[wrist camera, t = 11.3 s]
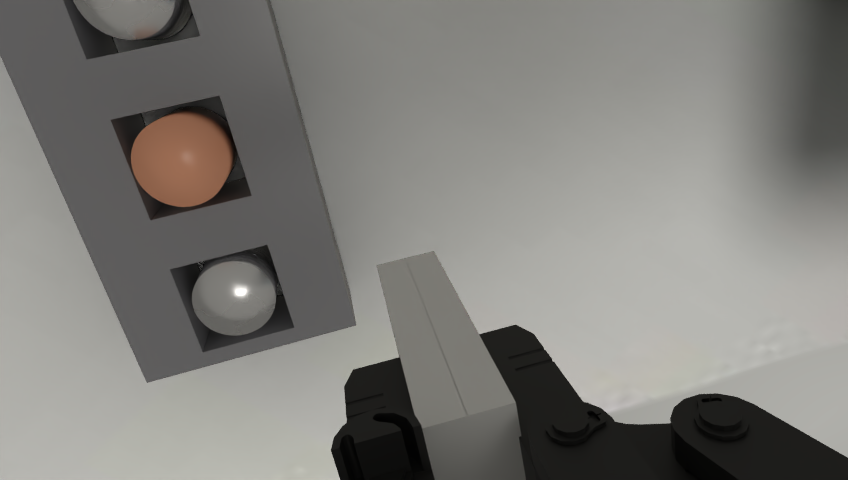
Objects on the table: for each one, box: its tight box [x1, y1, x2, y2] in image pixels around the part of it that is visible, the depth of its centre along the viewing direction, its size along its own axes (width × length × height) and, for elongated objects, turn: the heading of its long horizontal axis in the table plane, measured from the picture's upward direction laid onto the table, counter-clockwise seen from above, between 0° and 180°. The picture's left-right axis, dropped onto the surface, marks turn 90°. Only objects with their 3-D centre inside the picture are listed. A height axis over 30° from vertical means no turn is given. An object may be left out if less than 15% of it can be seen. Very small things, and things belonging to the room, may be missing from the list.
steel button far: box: [192, 245, 278, 336], centre depth 34 cm, size 4×4×4 cm
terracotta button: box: [131, 107, 238, 207], centre depth 30 cm, size 4×4×4 cm
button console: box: [0, 0, 356, 383], centre depth 31 cm, size 12×23×5 cm, turn 11°
